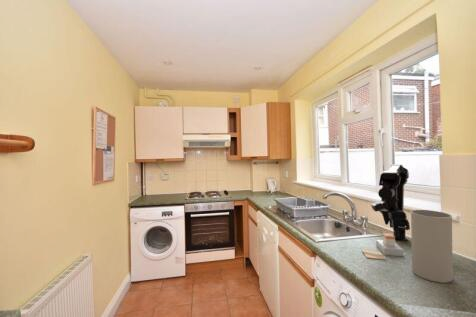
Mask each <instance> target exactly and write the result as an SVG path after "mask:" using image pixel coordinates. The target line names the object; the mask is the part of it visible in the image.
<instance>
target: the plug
mask: <svg viewBox="0 0 476 317" xmlns="http://www.w3.org/2000/svg"><path fill="white" fill-rule="evenodd" d="M382 240H383V244H384V245H385V246H394V247H395V243H396V240H395V236H394V235H393V233H387V232H386V233H384V232H383V233H382Z"/></svg>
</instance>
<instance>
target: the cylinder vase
mask: <svg viewBox="0 0 476 317" xmlns="http://www.w3.org/2000/svg"><path fill="white" fill-rule="evenodd" d="M410 217H411V218H410V220H411V222H410V225H411V226H410V230H411V233H410V234H411V270H412V272H413V273H414V274H415V275H417V277H420V278H422V279H424V280H427V281H430V282H434V283H439V284H443V283H444V284H446V283H447V284H448V283H451V282H452V281H453V279H454V278H453V277H454V276H453V268H454V267H453V216H452V214H449V213H447V212H443V211H439V210H430V209H413V210H411V211H410Z"/></svg>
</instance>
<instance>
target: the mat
mask: <svg viewBox="0 0 476 317" xmlns="http://www.w3.org/2000/svg"><path fill="white" fill-rule="evenodd" d="M361 252H362V254H363V255H364V256H365V258H366V259H371V260H380V261H381V260H384V261H386V260H387V258H386V257H385V255H384V254H382V253H381V252H380V251H375V250H361Z"/></svg>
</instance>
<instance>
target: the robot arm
mask: <svg viewBox="0 0 476 317" xmlns="http://www.w3.org/2000/svg"><path fill="white" fill-rule="evenodd" d="M409 175H410V172H409V170H408V168H406V167H404V166H403V164H398V163H396V164H391V166H390V168H389V169H388V170H385V171H382V172H381V173H380V176H379V181H378V182H379V183H378V186H381V188H380V189H379V190H378V192H377V194H378V196H379V198H380V199H381V200H379V201H375V202H373V203H370V206H371V209H372V210H373V211H374V212H380V213H381V215H382V217H383V221H384V224H385V225H387V226H388V225H389V228H392V230H393V233H392V234H393V235H394V236H395V241H404V242H406V241H407V242H408V241H409V238H407V236H406V231H408V230H409V231H410V230H411V226H410V225H411V224H410V222H409V219H407V218H408V216H407V214H406V212H405V211H404V202H405V200H404V199H405V185H407V183H408V179H409V178H410V176H409Z"/></svg>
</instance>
